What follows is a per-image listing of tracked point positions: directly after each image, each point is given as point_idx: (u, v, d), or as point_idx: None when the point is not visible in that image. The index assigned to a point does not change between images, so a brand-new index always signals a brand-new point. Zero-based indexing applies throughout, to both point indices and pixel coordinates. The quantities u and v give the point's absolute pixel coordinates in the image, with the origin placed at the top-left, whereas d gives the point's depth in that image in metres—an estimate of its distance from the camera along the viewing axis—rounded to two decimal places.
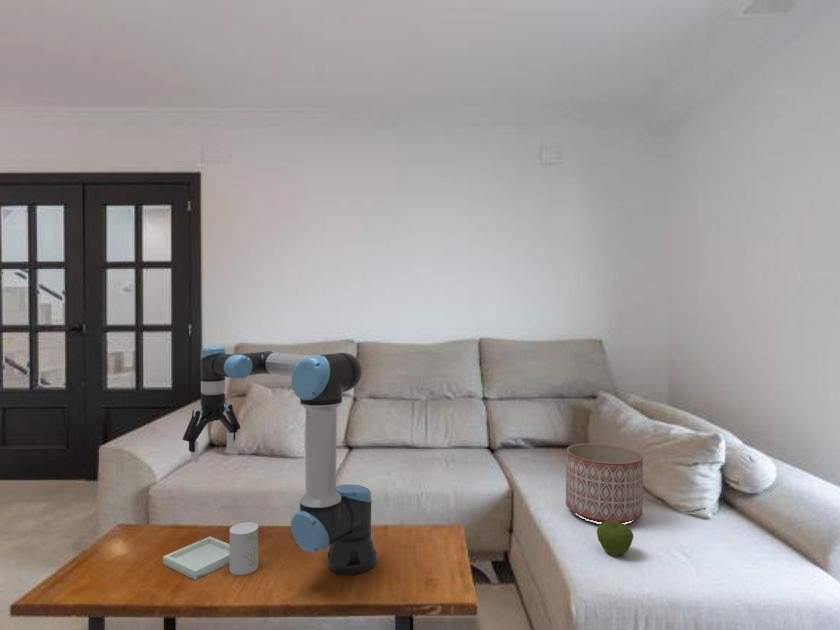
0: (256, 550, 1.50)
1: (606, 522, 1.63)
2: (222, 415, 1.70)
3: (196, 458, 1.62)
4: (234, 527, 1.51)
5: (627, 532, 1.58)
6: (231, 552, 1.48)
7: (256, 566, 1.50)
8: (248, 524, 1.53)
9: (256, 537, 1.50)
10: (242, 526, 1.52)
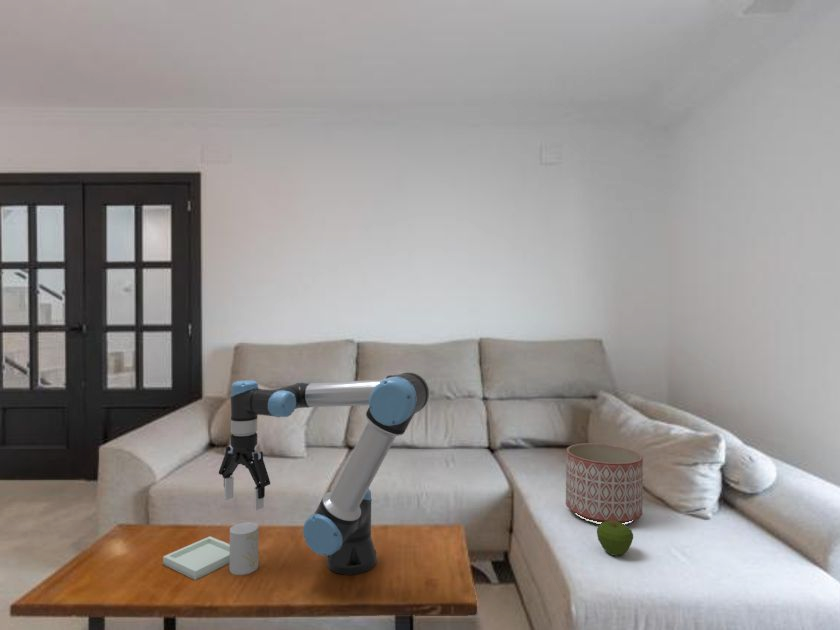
0: (256, 550, 1.50)
1: (606, 522, 1.63)
2: (244, 461, 1.48)
3: (224, 496, 1.53)
4: (234, 527, 1.51)
5: (627, 532, 1.58)
6: (231, 552, 1.48)
7: (256, 566, 1.50)
8: (248, 524, 1.53)
9: (256, 537, 1.50)
10: (242, 526, 1.52)
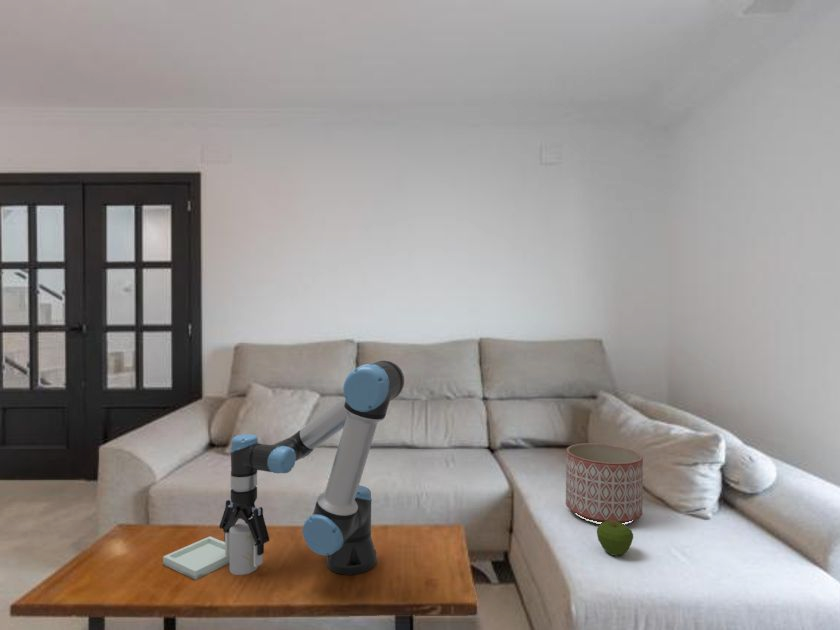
0: None
1: (606, 522, 1.63)
2: (244, 517, 1.48)
3: (225, 550, 1.53)
4: (234, 527, 1.51)
5: (627, 532, 1.58)
6: (231, 552, 1.48)
7: None
8: None
9: None
10: (242, 526, 1.52)
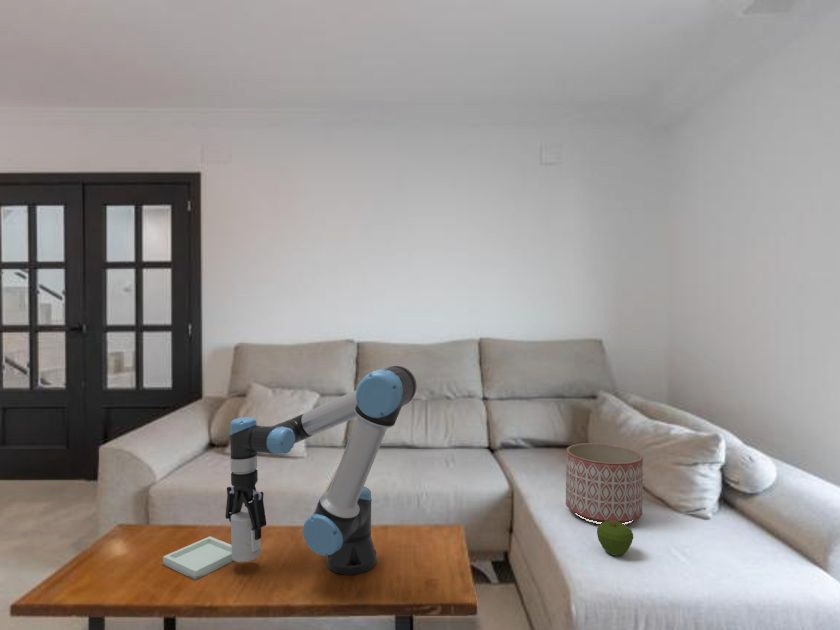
0: None
1: (606, 522, 1.63)
2: (244, 500, 1.48)
3: None
4: (235, 514, 1.51)
5: (627, 532, 1.58)
6: (232, 539, 1.47)
7: (258, 553, 1.50)
8: None
9: None
10: (243, 513, 1.51)
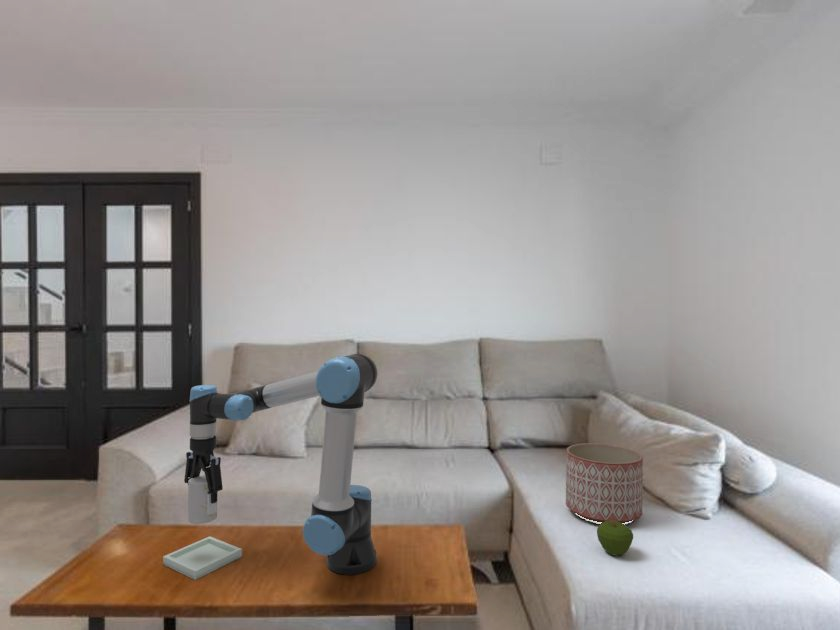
0: None
1: (606, 522, 1.63)
2: (202, 465, 1.52)
3: None
4: (193, 478, 1.55)
5: (627, 532, 1.58)
6: (189, 501, 1.51)
7: (214, 516, 1.54)
8: None
9: None
10: (201, 478, 1.55)
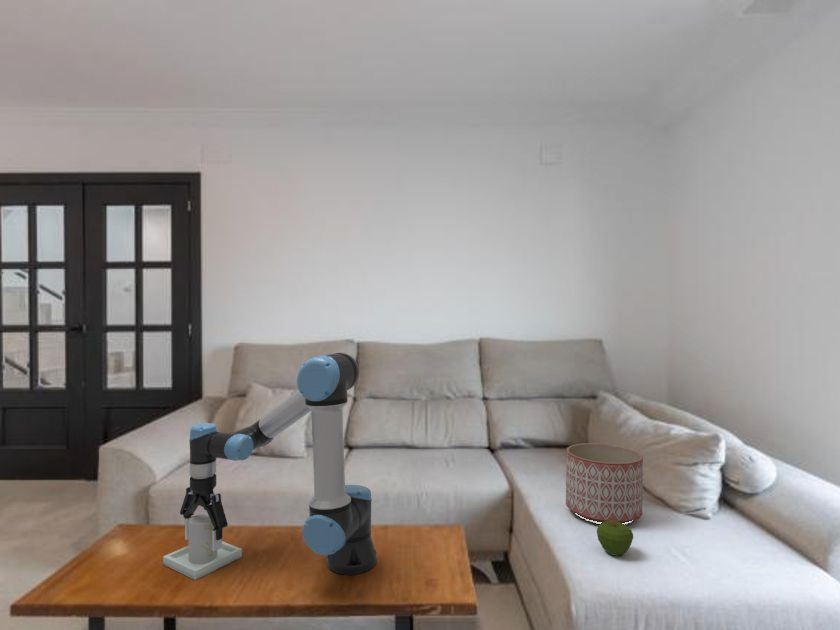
0: None
1: (606, 522, 1.63)
2: (203, 503, 1.52)
3: (185, 535, 1.57)
4: (194, 518, 1.55)
5: (627, 532, 1.58)
6: (189, 542, 1.52)
7: (215, 556, 1.54)
8: (208, 515, 1.57)
9: None
10: (201, 517, 1.56)
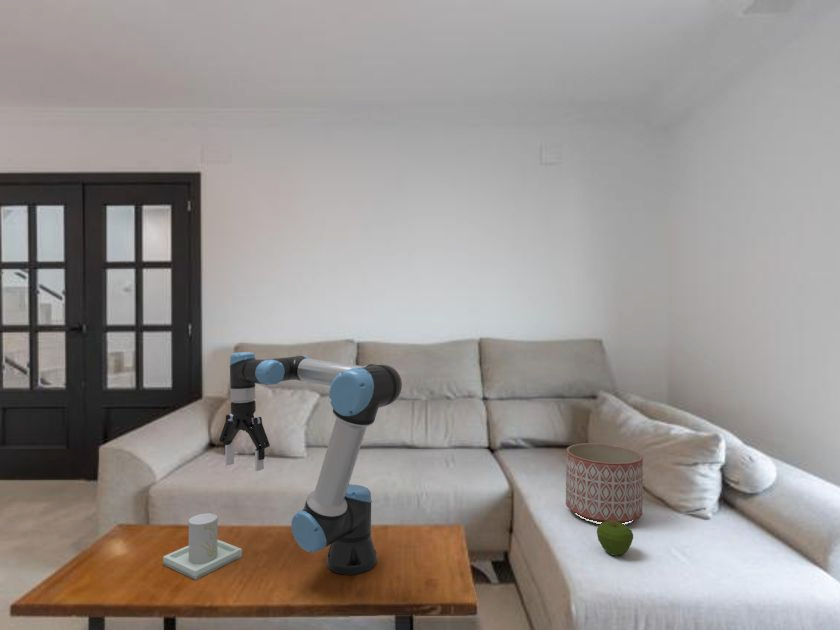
0: (214, 540, 1.54)
1: (606, 522, 1.63)
2: (244, 426, 1.58)
3: (225, 461, 1.63)
4: (194, 518, 1.55)
5: (627, 532, 1.58)
6: (189, 542, 1.52)
7: (215, 556, 1.54)
8: (208, 515, 1.57)
9: (215, 527, 1.54)
10: (201, 517, 1.56)
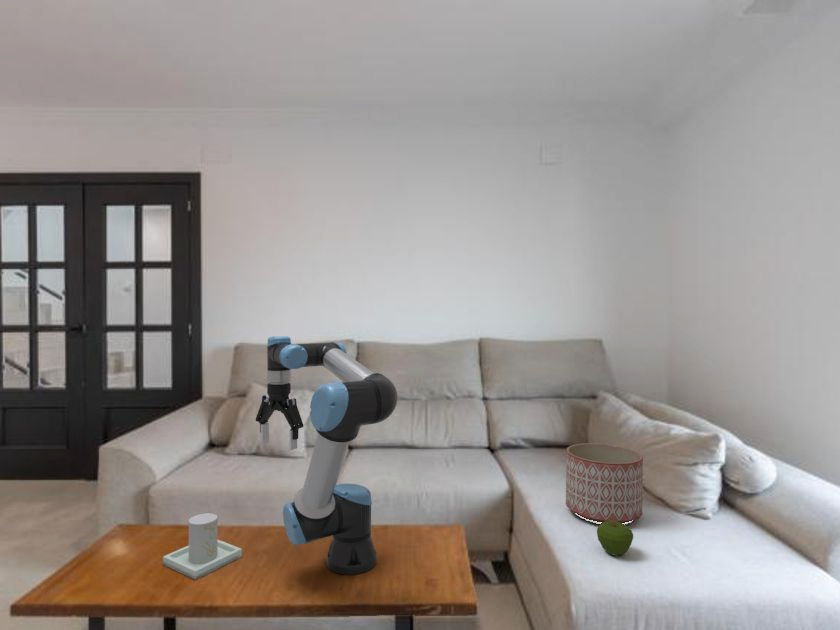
0: (214, 540, 1.54)
1: (606, 522, 1.63)
2: (280, 407, 1.65)
3: (261, 440, 1.71)
4: (194, 518, 1.55)
5: (627, 532, 1.58)
6: (189, 542, 1.52)
7: (215, 556, 1.54)
8: (208, 515, 1.57)
9: (215, 527, 1.54)
10: (201, 517, 1.56)
